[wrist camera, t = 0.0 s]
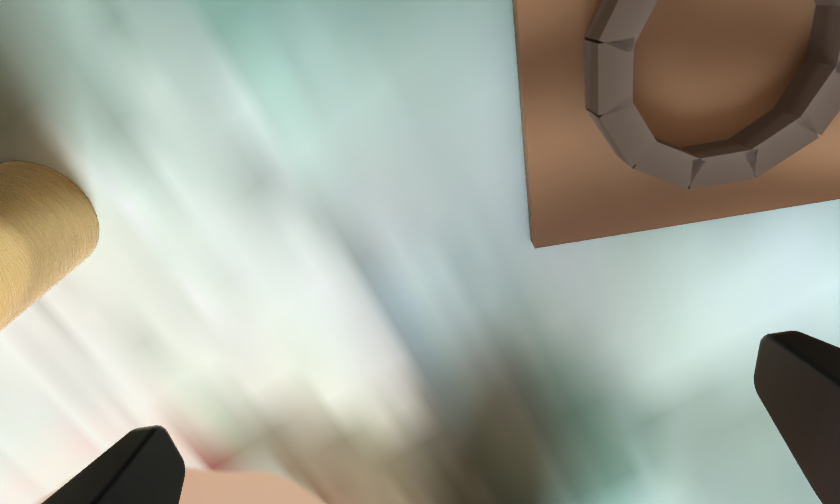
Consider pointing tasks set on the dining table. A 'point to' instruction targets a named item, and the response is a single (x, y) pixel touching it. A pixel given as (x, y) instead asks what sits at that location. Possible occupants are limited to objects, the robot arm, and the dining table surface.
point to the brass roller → (39, 233)
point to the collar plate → (674, 111)
